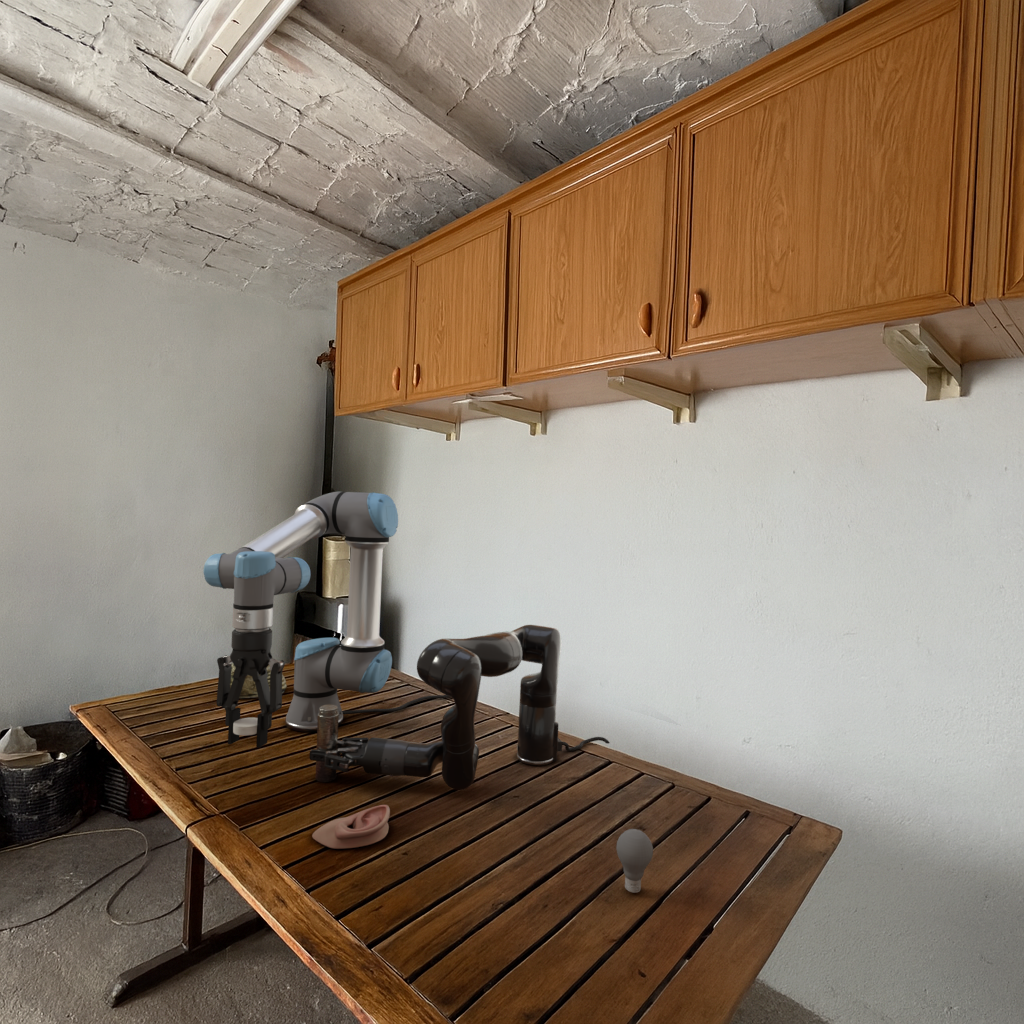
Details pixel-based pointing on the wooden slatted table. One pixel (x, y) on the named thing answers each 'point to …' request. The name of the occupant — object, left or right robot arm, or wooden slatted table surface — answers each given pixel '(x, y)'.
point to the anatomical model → (355, 829)
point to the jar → (327, 740)
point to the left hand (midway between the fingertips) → (247, 743)
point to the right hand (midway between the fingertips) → (315, 750)
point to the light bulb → (634, 857)
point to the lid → (245, 726)
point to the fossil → (249, 684)
